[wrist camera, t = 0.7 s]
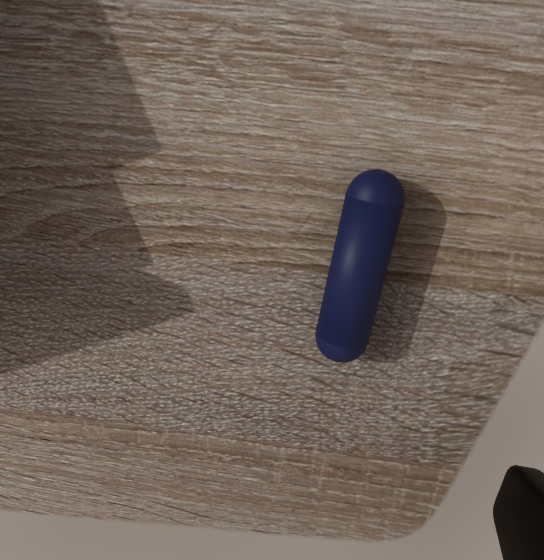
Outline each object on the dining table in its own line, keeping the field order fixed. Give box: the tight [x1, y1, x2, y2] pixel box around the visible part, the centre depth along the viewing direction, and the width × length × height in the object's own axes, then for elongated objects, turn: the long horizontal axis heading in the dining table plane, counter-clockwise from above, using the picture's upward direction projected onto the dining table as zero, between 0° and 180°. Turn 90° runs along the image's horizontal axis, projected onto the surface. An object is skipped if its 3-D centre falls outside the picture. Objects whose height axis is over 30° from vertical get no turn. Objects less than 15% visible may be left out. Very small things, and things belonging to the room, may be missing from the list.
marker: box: [315, 169, 405, 362], centre depth 19 cm, size 8×2×2 cm, turn 170°
